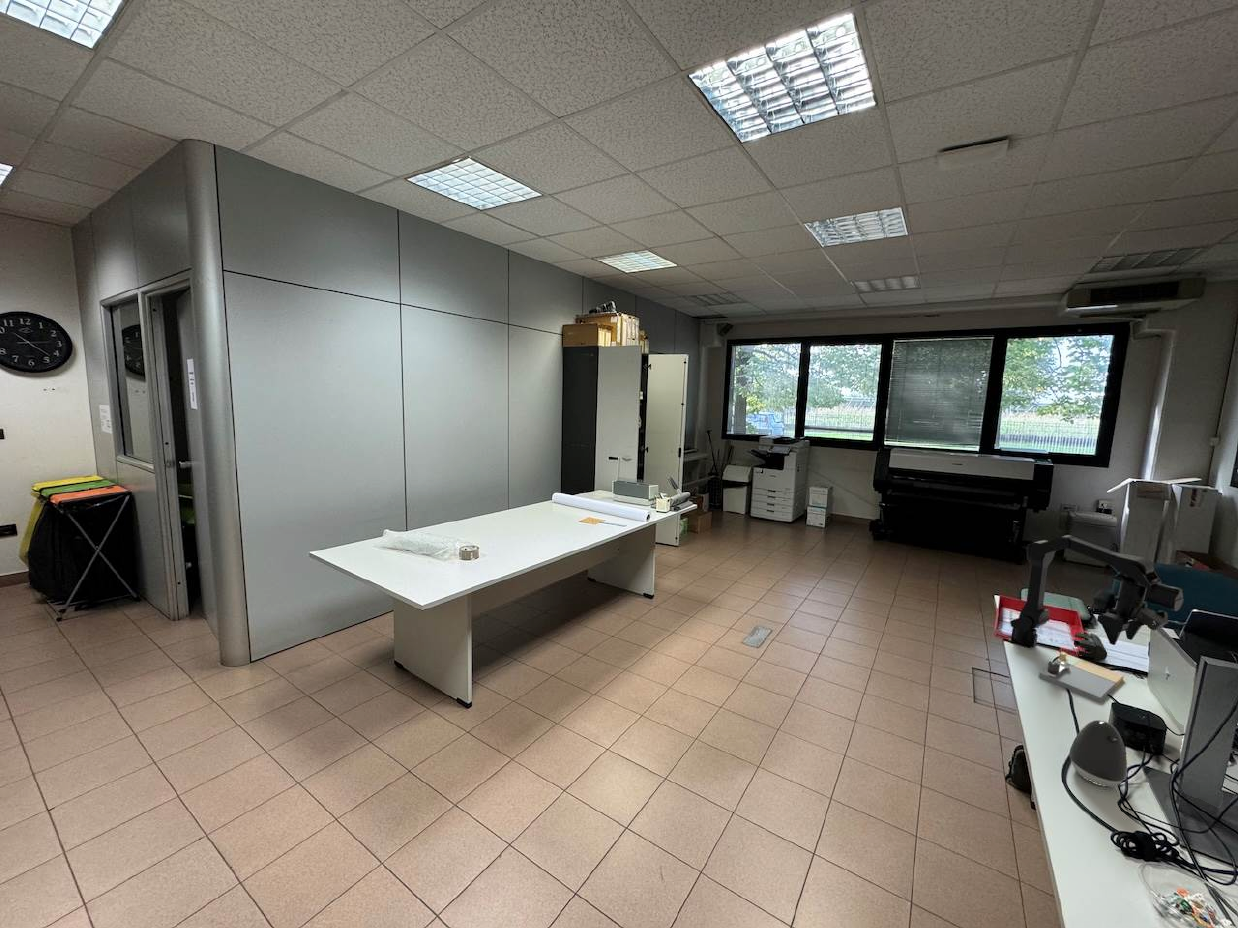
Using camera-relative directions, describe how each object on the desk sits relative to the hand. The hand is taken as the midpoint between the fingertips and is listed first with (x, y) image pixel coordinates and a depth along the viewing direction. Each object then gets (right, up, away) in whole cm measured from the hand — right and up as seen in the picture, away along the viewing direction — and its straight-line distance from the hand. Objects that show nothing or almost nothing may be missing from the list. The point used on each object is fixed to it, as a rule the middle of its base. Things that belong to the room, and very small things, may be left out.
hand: (1120, 641), depth 159 cm
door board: (-9, -14, +4) cm, 17 cm away
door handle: (-16, -11, +5) cm, 20 cm away
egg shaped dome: (-43, -21, -36) cm, 60 cm away
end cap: (+6, -11, +17) cm, 22 cm away
